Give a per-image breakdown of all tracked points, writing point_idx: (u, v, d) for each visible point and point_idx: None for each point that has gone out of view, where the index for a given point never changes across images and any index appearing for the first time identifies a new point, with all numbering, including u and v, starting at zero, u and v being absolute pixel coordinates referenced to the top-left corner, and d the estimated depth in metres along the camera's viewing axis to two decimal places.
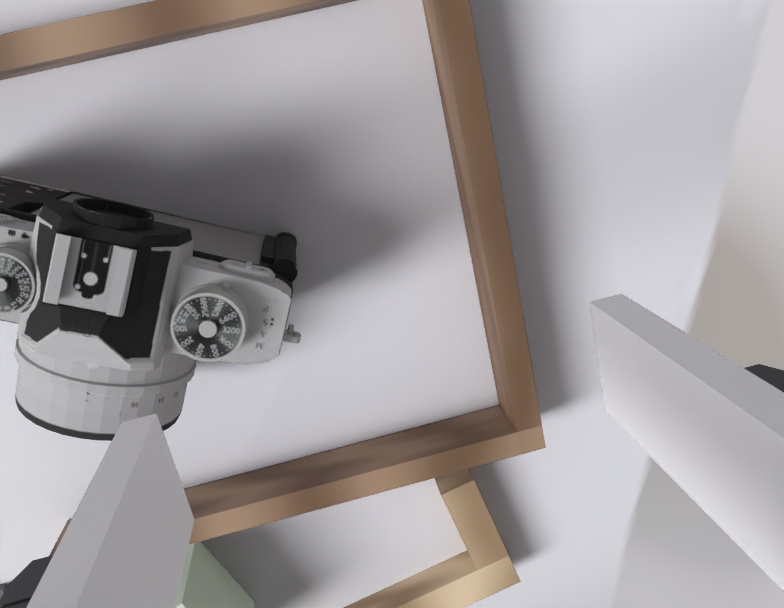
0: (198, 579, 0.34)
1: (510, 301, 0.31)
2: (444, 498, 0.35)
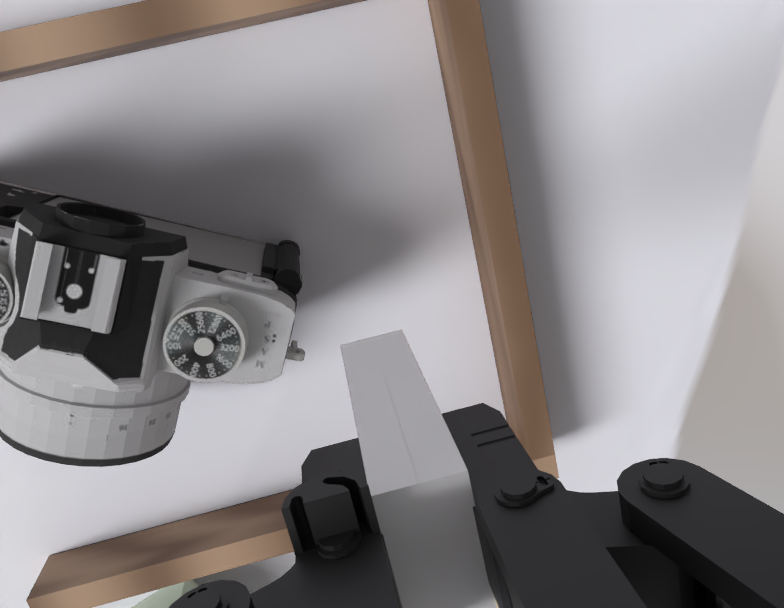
0: None
1: (522, 323, 0.29)
2: None
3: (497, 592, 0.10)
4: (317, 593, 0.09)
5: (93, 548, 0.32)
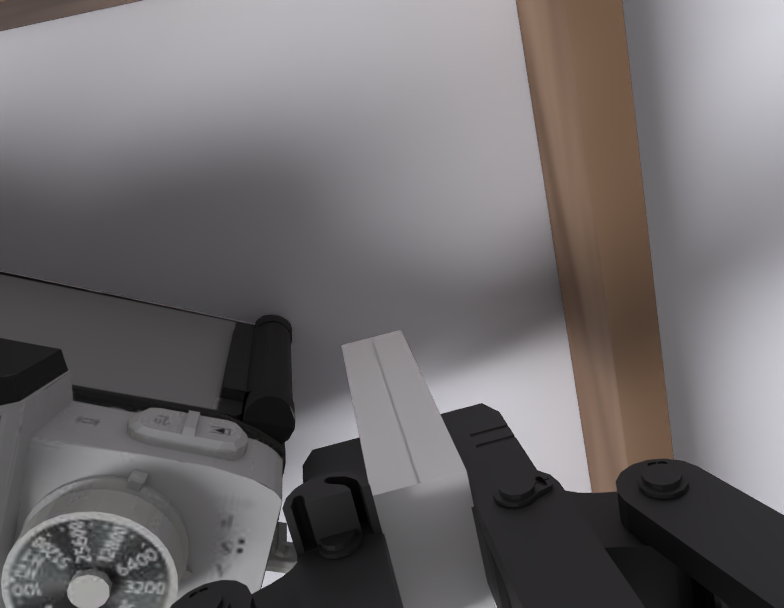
0: None
1: None
2: None
3: (495, 593, 0.10)
4: (319, 592, 0.09)
5: None
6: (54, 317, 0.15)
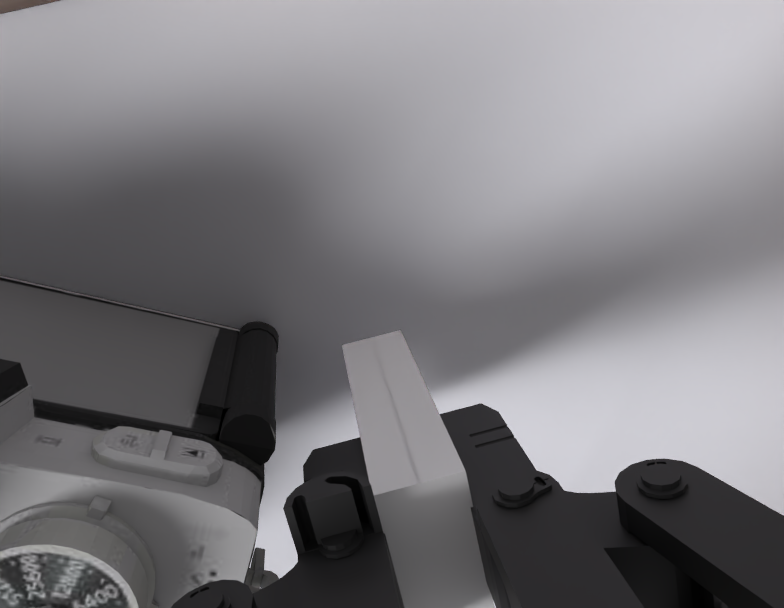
0: None
1: None
2: None
3: (495, 593, 0.10)
4: (320, 592, 0.09)
5: None
6: (23, 322, 0.14)
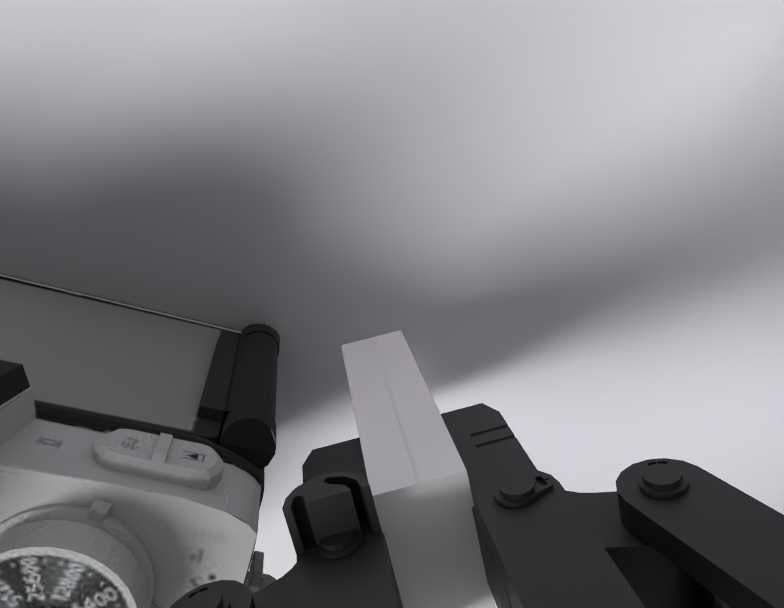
0: None
1: None
2: None
3: (496, 593, 0.10)
4: (318, 592, 0.09)
5: None
6: (25, 322, 0.14)
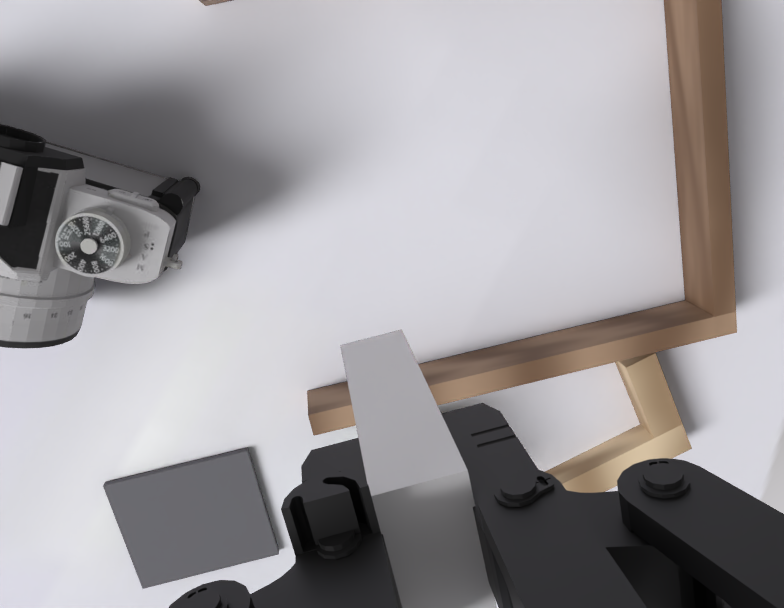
0: None
1: (722, 196, 0.36)
2: (629, 370, 0.39)
3: (497, 592, 0.10)
4: (317, 593, 0.09)
5: (345, 384, 0.39)
6: None
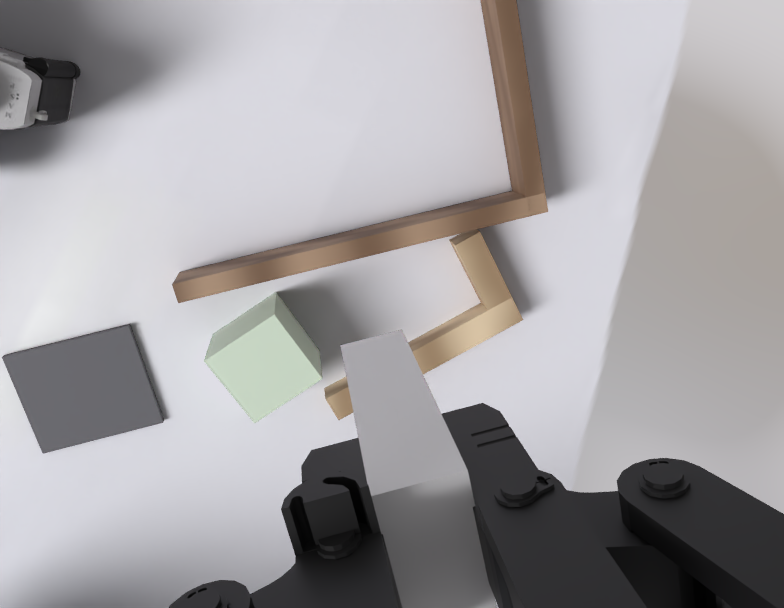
0: (281, 312, 0.44)
1: (521, 88, 0.41)
2: (458, 248, 0.45)
3: (497, 592, 0.10)
4: (317, 593, 0.09)
5: (211, 265, 0.45)
6: None
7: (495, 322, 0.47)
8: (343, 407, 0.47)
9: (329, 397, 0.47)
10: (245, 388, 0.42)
